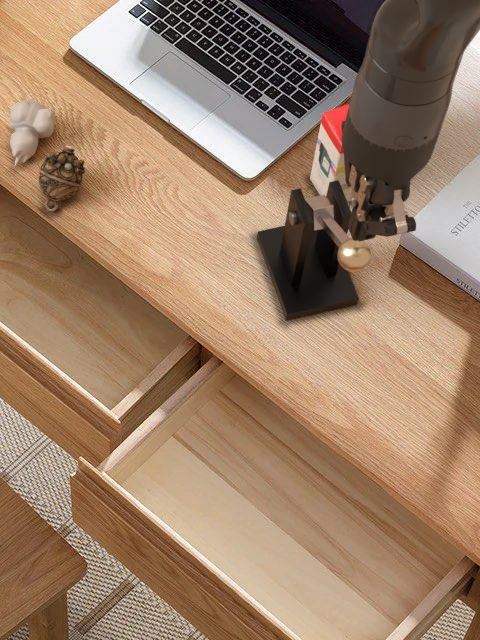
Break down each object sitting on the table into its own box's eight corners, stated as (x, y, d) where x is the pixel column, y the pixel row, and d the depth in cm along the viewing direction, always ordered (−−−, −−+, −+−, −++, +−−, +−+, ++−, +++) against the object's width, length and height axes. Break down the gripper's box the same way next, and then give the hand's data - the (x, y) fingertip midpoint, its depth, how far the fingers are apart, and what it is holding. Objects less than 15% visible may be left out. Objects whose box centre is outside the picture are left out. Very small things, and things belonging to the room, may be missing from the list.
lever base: (357, 305, 134) (378, 238, 122) (285, 320, 133) (299, 255, 122) (325, 223, 138) (342, 151, 127) (256, 238, 138) (267, 167, 126)
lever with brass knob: (377, 273, 117) (376, 243, 115) (344, 280, 117) (343, 250, 115) (330, 217, 128) (329, 189, 126) (300, 224, 128) (299, 196, 126)
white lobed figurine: (4, 95, 144) (-16, 158, 143) (40, 88, 139) (20, 153, 138) (37, 116, 148) (18, 177, 146) (74, 110, 143) (54, 174, 142)
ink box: (374, 154, 142) (399, 67, 129) (395, 187, 140) (422, 101, 127) (307, 178, 141) (325, 92, 128) (326, 211, 139) (346, 127, 126)
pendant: (56, 138, 141) (96, 153, 140) (35, 202, 143) (75, 217, 143) (44, 138, 137) (85, 154, 136) (22, 204, 139) (63, 220, 138)
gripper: (471, 165, 96) (424, 283, 112) (413, 39, 102) (376, 168, 117) (379, 184, 96) (344, 301, 111) (326, 56, 101) (300, 184, 117)
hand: (360, 232), depth 114 cm, fingers closed
